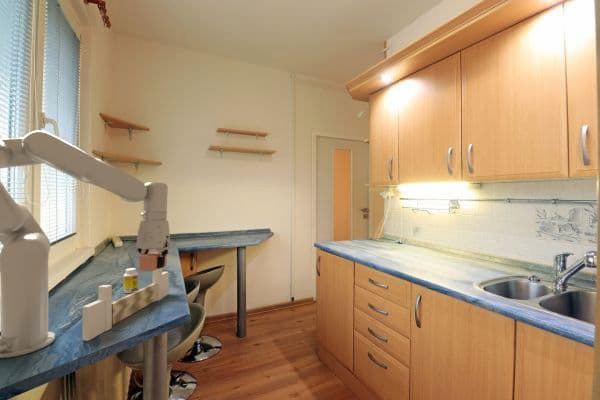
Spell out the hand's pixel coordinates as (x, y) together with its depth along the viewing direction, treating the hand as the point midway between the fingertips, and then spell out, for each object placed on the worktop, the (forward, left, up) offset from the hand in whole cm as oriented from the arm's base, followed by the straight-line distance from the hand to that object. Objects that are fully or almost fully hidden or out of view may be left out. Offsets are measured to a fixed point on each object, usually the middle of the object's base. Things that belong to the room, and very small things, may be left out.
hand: (153, 266), depth 99 cm
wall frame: (+2, +9, -18) cm, 20 cm away
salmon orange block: (0, 0, -1) cm, 1 cm away
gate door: (+2, +9, -18) cm, 20 cm away
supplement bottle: (+22, +27, -18) cm, 39 cm away
